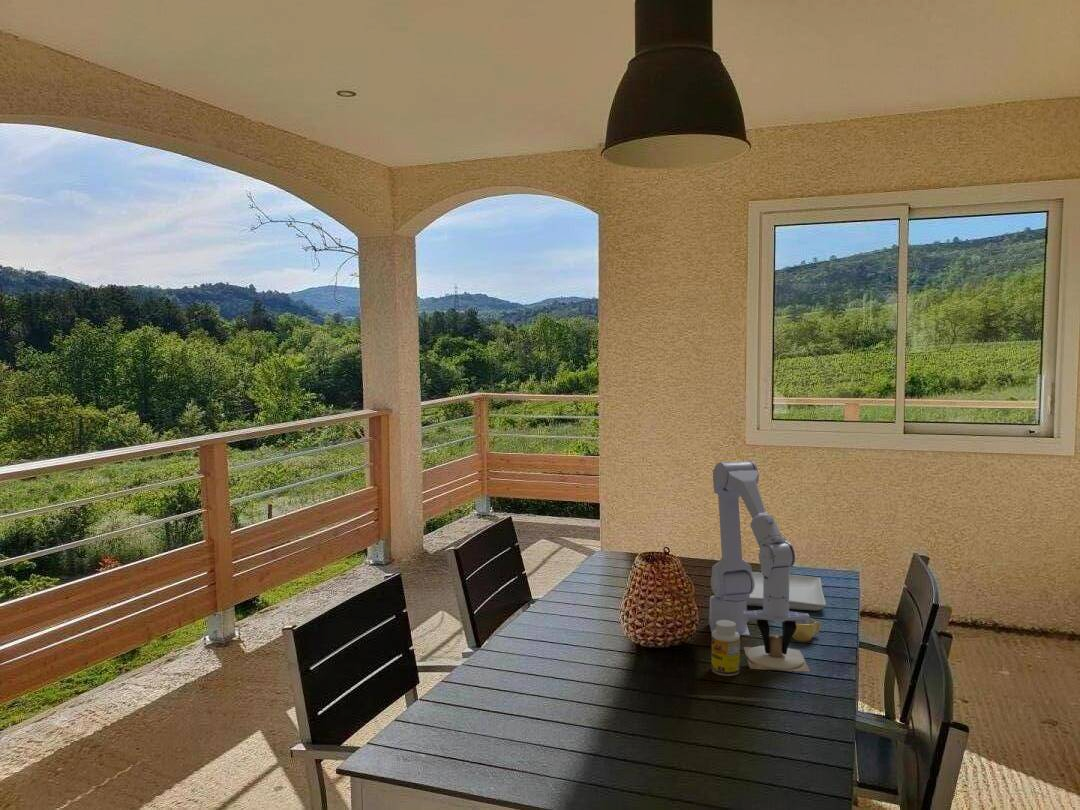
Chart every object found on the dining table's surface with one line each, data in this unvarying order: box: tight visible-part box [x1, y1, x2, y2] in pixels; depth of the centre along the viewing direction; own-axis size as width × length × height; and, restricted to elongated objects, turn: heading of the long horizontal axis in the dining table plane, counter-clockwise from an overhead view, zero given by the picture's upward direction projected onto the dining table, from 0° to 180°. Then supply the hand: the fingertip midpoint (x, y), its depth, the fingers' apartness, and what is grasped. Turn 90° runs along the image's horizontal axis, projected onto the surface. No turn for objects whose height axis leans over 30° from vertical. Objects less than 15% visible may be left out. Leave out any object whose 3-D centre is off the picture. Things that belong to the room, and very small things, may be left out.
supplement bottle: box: [711, 620, 741, 677], centre depth 171 cm, size 6×6×11 cm
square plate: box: [747, 571, 827, 611], centre depth 226 cm, size 27×27×4 cm
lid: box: [748, 633, 805, 671], centre depth 177 cm, size 12×12×5 cm
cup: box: [792, 617, 821, 642], centre depth 190 cm, size 12×12×5 cm
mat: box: [743, 646, 811, 673], centre depth 178 cm, size 13×13×1 cm
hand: (775, 652), depth 178 cm, fingers closed on lid, 3 cm apart
